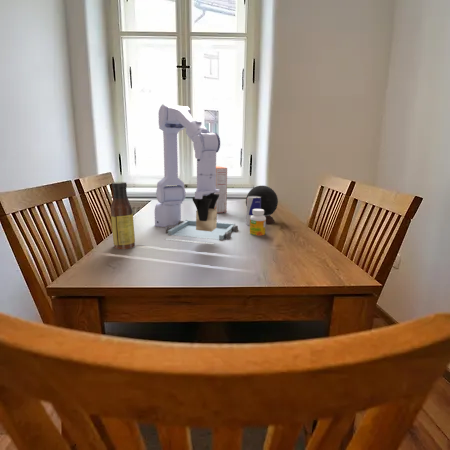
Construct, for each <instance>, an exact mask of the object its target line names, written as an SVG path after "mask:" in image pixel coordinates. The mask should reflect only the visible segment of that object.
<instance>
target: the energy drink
mask: <svg viewBox="0 0 450 450" xmlns="http://www.w3.org/2000/svg"><path fill="white" fill-rule="evenodd" d="M253 209H261V197H259V196H248V198H247V206H246V218H245V220H246V221H245V222H246V223H245V224H246V225H247V226H249V227H250V217H251V216H252V215H253V214H252V211H253Z"/></svg>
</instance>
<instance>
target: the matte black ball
mask: <svg viewBox="0 0 450 450" xmlns="http://www.w3.org/2000/svg"><path fill="white" fill-rule="evenodd" d="M248 196H259V197H261V209H263V210H264V214H263V216H265V217H266V225H272V224H275V219H274V217H273V216H271V215H273V214H274V213H275V212H276V210H277V208H278V205H279V198H278V195H277V193H276V191H275V190H274V189H272V187H269V186H267V185H256V186H254V187H253V188H251V189H250V190H249V191H248V193H247V194H246V198H245V205H246V207H247V198H248Z"/></svg>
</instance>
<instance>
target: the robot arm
mask: <svg viewBox="0 0 450 450" xmlns="http://www.w3.org/2000/svg"><path fill="white" fill-rule="evenodd" d="M158 126H159V127H158V129H160V130H161V131H162V134H163V135H162V136H163V165H164V166H163V167H164V168H163V170H164V171H163V173H164V176H163V178H161V179H160V180H159V181H158V182H157V183H156V190H155V196H156V200H157V202H158V203H156V204H155V205H154V227H159V228H160V227H161V228H162V227H163V228H167V227H169V226H177V225H178V222H179V221H182V211H181V210H182V204H183V202H184V201H185V199H186V196H187V195H186V194H187V193H186V188H185V182H184V181H183V180H181V178H179V171H178V169H179V166H178V163H179V161H178V157H179V156H178V134H179V132H180V131H183V130H184V129H185V134H186V135H187V137H188V138H189V139H190V140H191V142H193V143H192V144H193V145H192V147H193V151H194V157H195V159H196V189H195V190H196V191H194V196H193V197H192V202H193V203H194V206H195V208H196V211H197V212H198V216H199V220H200V221H207V217H208V210H209V209H214V208H215V204H216V202H217V199H218V198H219V194H214V193H216V192H220V190H219V189H216V166H217V153H219V151H220V149H221V138H220V136H219V134H218V132H211V131H209V129H208V128H206V126H205V125H204V124H203V122H202V121H201V120H197V119H196V120H195V119H194V117H192V111H191V108H190V107H189V106H187V105H184V106H183V105H174V104H173V105H172V104H164V103H163V104H161V106H160V107H159V110H158Z"/></svg>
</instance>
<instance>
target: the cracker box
mask: <svg viewBox="0 0 450 450" xmlns="http://www.w3.org/2000/svg"><path fill="white" fill-rule="evenodd" d="M216 189H219V190H220V192H216V193H214V194H219V198H218V199H217V202H216V204H215V208H214V209H217V214H221V213H222V214H224V213H227V211H228V210H227V209H228V208H227V199H228V197H227V196H228V167H226V166H225V167H224V166H219V165H216ZM223 212H224V213H223Z"/></svg>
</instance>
